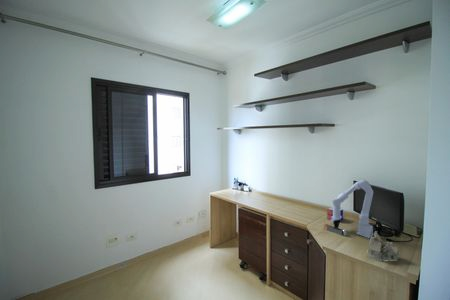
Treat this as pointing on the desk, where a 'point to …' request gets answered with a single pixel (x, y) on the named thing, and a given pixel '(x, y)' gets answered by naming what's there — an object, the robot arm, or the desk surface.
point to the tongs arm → (333, 227)
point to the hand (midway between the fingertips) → (336, 228)
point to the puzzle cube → (330, 213)
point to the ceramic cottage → (381, 249)
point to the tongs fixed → (335, 230)
